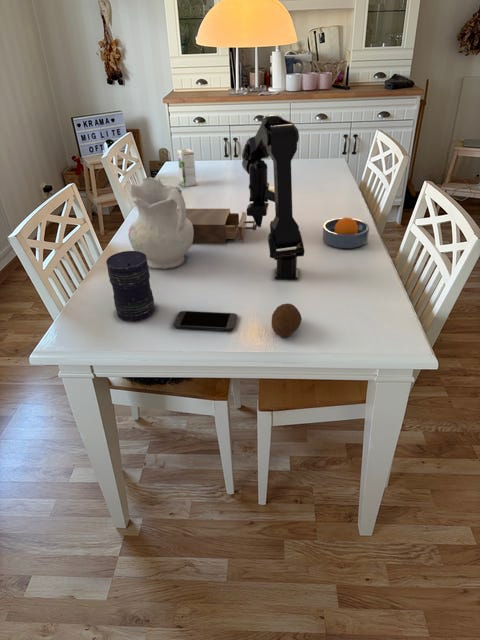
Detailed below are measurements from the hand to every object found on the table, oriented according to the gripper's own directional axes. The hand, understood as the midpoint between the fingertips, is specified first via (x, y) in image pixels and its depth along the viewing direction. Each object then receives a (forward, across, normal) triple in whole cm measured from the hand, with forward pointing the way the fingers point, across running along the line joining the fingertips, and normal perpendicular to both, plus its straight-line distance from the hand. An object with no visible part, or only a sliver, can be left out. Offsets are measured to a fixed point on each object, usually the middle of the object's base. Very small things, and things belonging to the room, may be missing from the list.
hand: (259, 226), depth 161 cm
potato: (+3, -56, -11) cm, 57 cm away
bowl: (+3, -4, -28) cm, 28 cm away
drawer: (+2, 0, +12) cm, 12 cm away
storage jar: (+3, -50, +28) cm, 57 cm away
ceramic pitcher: (+3, -21, +26) cm, 34 cm away
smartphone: (+3, -54, +9) cm, 55 cm away
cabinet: (+3, 0, +20) cm, 20 cm away
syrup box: (+3, +55, +36) cm, 66 cm away
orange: (+2, -4, -28) cm, 28 cm away
